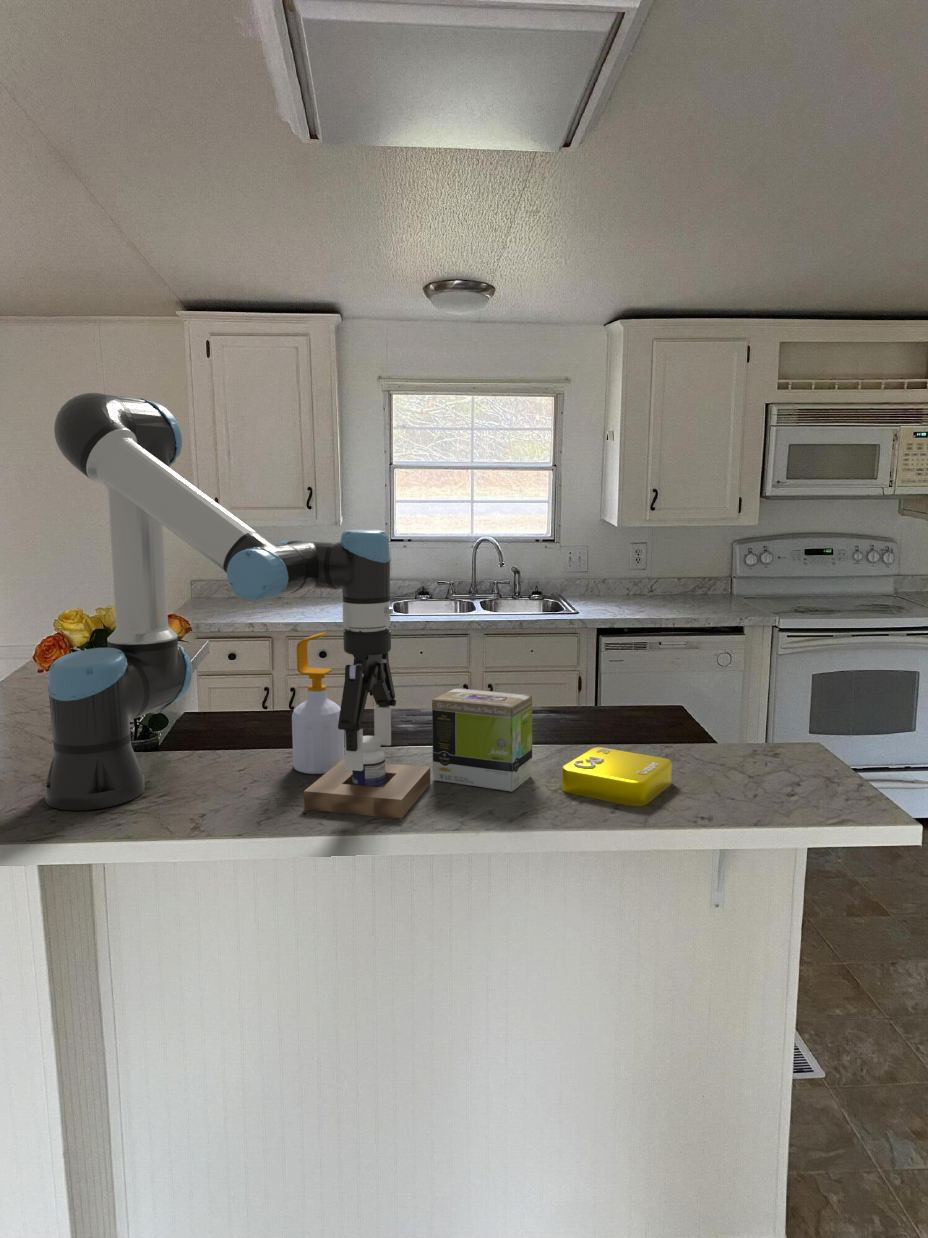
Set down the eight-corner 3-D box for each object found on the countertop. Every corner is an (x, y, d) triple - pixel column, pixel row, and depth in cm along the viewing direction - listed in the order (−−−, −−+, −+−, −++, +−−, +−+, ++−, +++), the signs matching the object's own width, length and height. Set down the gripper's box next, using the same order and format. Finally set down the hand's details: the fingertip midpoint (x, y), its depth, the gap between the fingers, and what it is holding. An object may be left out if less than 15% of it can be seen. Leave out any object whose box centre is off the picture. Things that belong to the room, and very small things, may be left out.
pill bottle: (349, 793, 145) (347, 736, 144) (380, 788, 147) (379, 732, 146) (358, 804, 140) (356, 745, 139) (390, 799, 142) (389, 741, 141)
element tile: (642, 810, 139) (643, 781, 138) (557, 792, 147) (557, 765, 146) (674, 783, 151) (675, 756, 151) (594, 768, 159) (595, 743, 159)
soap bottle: (334, 776, 154) (331, 638, 150) (285, 773, 155) (281, 636, 152) (351, 760, 162) (348, 629, 158) (304, 757, 164) (300, 627, 160)
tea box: (533, 776, 154) (534, 693, 152) (512, 794, 145) (512, 707, 143) (455, 764, 160) (455, 685, 158) (430, 781, 151) (430, 697, 149)
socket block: (304, 809, 138) (303, 791, 138) (342, 776, 154) (341, 760, 153) (401, 818, 134) (401, 799, 134) (430, 784, 150) (430, 767, 149)
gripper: (362, 642, 127) (364, 783, 130) (412, 616, 151) (413, 736, 154) (313, 640, 129) (317, 779, 132) (371, 615, 153) (373, 733, 156)
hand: (369, 756), depth 143 cm, fingers open, 13 cm apart
